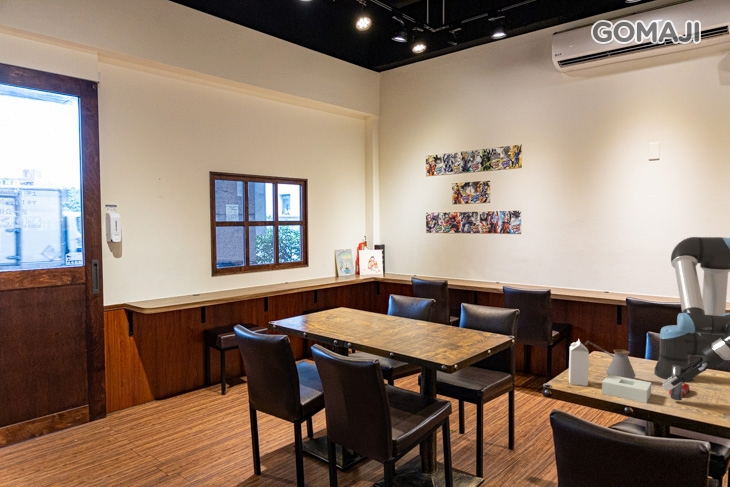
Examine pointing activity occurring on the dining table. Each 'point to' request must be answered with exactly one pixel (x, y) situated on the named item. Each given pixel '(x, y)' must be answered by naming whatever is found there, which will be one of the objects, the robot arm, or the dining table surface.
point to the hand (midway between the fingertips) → (665, 386)
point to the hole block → (626, 388)
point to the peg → (677, 391)
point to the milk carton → (578, 364)
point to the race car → (683, 389)
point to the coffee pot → (619, 363)
